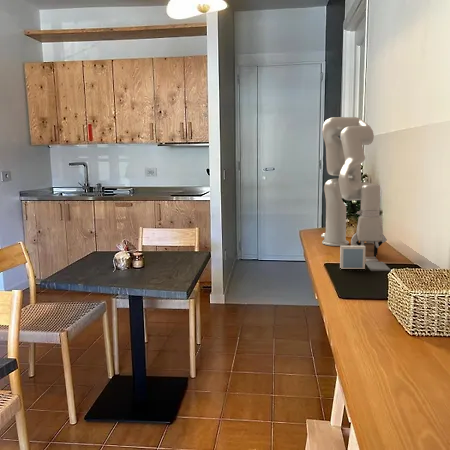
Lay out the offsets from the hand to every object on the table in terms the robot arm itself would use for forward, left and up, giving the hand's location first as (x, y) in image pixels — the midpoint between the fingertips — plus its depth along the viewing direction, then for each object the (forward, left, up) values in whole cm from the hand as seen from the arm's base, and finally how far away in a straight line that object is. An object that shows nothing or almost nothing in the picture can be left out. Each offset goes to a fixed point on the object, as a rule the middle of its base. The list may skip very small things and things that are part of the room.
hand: (368, 256), depth 191 cm
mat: (+13, -10, -1) cm, 16 cm away
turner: (+2, -2, -1) cm, 3 cm away
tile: (+9, -19, -1) cm, 21 cm away
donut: (-7, +4, -1) cm, 8 cm away
